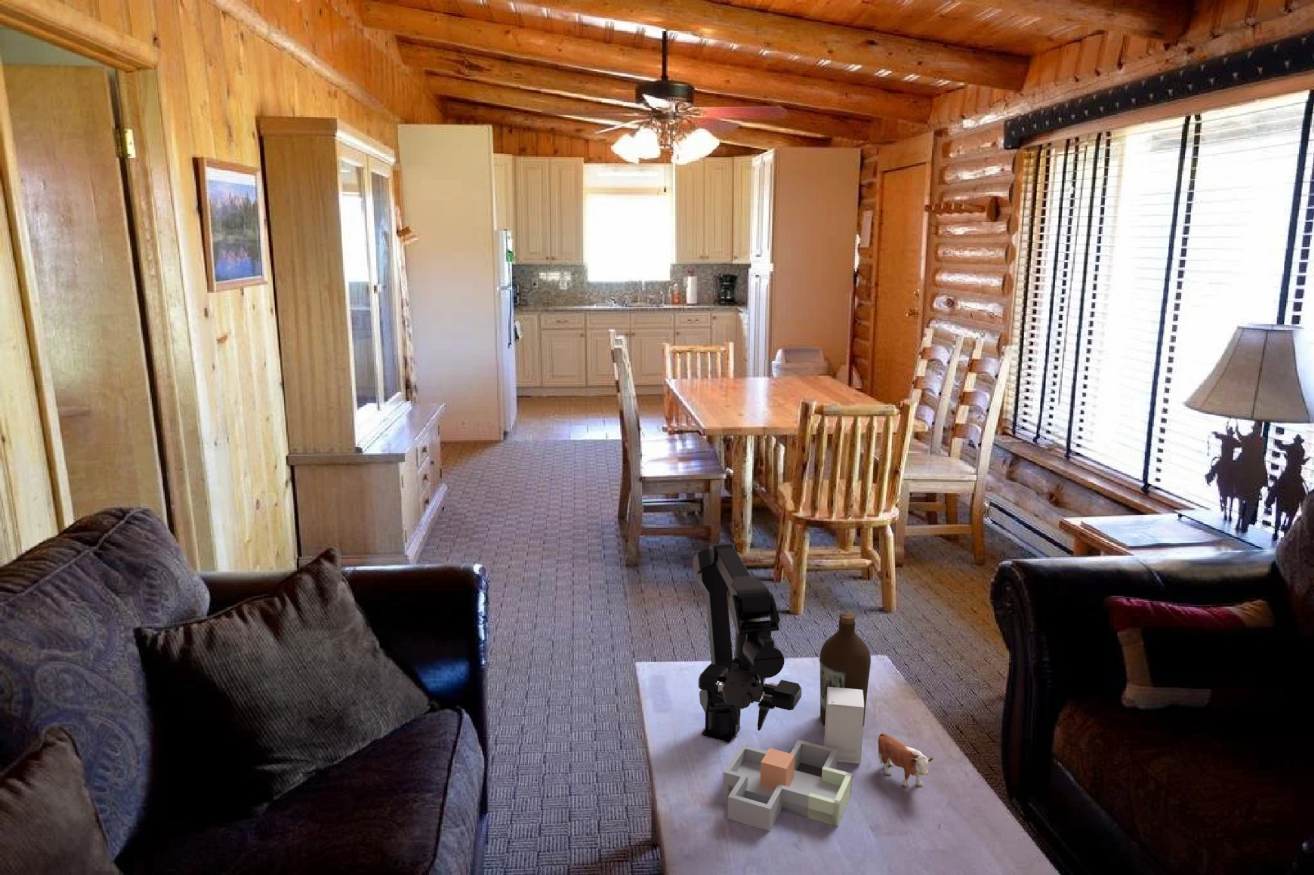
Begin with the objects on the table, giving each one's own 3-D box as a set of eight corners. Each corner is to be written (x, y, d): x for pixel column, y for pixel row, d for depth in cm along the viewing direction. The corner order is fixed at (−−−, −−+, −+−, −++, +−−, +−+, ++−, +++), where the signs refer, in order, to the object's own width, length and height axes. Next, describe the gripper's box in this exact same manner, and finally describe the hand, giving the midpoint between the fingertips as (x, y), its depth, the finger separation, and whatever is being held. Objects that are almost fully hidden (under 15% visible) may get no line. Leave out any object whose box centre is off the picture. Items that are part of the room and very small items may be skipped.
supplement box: (861, 764, 174) (864, 707, 171) (823, 760, 175) (826, 703, 173) (860, 744, 181) (863, 688, 178) (824, 740, 183) (826, 685, 180)
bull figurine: (920, 803, 162) (922, 764, 161) (871, 765, 174) (873, 728, 172) (937, 796, 164) (940, 757, 163) (888, 758, 176) (890, 722, 174)
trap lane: (709, 813, 160) (710, 791, 159) (752, 747, 180) (753, 728, 179) (827, 849, 150) (829, 826, 149) (859, 775, 170) (860, 755, 169)
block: (760, 785, 164) (760, 761, 163) (768, 771, 169) (769, 748, 168) (785, 792, 162) (786, 768, 161) (793, 778, 167) (794, 754, 165)
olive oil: (840, 704, 196) (845, 600, 191) (877, 725, 188) (884, 617, 182) (806, 719, 190) (811, 613, 185) (843, 741, 182) (849, 631, 176)
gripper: (686, 659, 159) (686, 736, 163) (785, 682, 151) (782, 762, 155) (710, 634, 169) (709, 707, 172) (803, 654, 161) (800, 730, 165)
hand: (748, 726), depth 166 cm, fingers open, 4 cm apart
